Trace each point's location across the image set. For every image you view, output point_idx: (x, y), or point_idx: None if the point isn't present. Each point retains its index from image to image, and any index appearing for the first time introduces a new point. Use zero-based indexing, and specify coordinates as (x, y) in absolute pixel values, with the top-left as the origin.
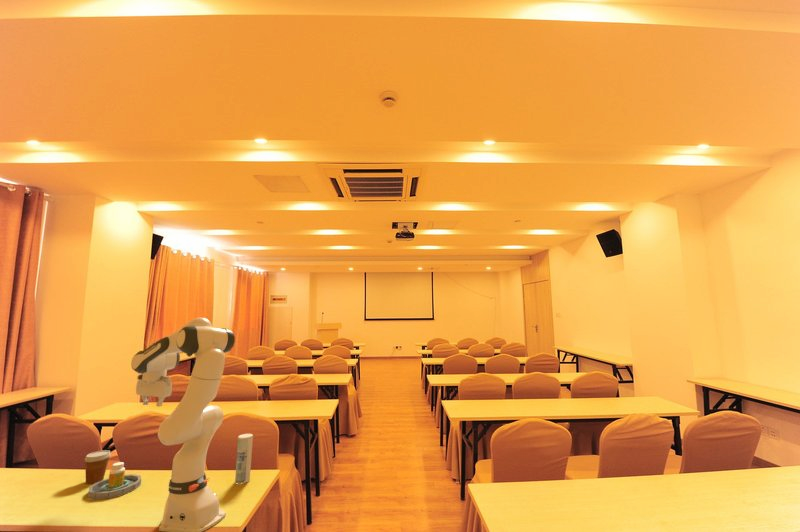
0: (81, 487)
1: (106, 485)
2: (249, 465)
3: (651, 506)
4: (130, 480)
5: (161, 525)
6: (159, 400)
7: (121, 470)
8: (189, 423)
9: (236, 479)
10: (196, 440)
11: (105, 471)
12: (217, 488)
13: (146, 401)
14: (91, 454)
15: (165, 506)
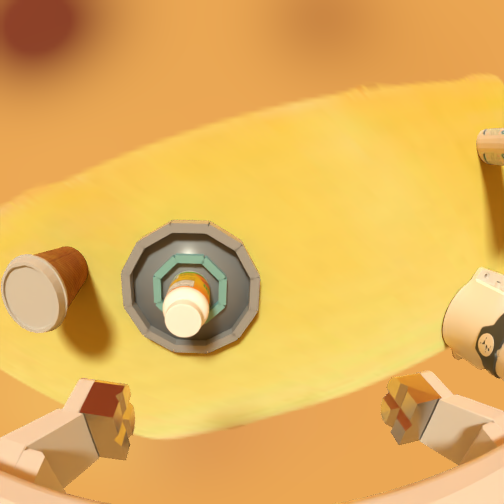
0: (83, 307)
1: (161, 299)
2: None
3: None
4: (184, 239)
5: (458, 356)
6: (458, 455)
7: (208, 312)
8: None
9: (491, 163)
10: None
11: (69, 254)
12: (464, 194)
13: (121, 442)
14: (12, 305)
15: (475, 366)
